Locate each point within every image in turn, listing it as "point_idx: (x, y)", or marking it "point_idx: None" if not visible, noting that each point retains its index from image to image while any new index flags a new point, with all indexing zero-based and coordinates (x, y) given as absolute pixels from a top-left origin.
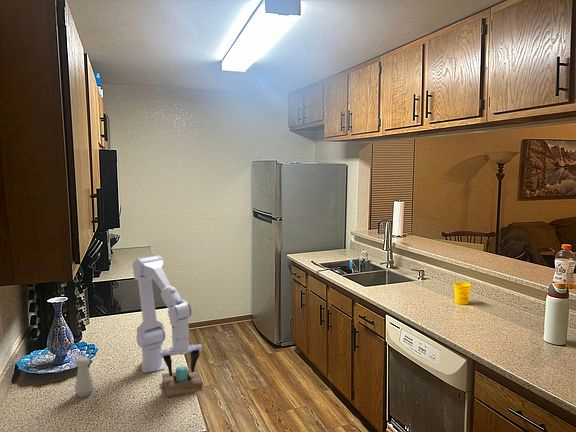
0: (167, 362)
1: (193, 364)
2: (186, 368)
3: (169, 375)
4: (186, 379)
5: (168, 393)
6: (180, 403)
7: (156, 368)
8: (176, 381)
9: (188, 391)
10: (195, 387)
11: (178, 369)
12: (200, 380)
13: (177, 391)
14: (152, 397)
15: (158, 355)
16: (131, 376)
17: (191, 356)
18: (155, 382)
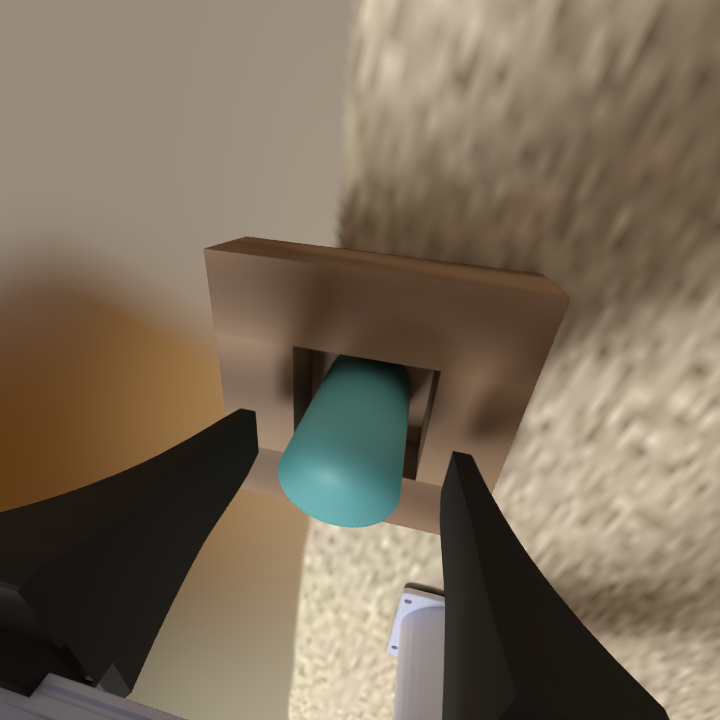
0: (599, 674)
1: (184, 459)
2: (287, 464)
3: (432, 503)
4: (329, 380)
5: (542, 284)
6: (489, 85)
7: (443, 610)
8: (408, 412)
9: (355, 254)
10: (285, 251)
11: (371, 492)
12: (217, 296)
13: (454, 270)
14: (646, 349)
15: (425, 706)
16: (591, 624)
17: (147, 586)
18: (507, 511)
